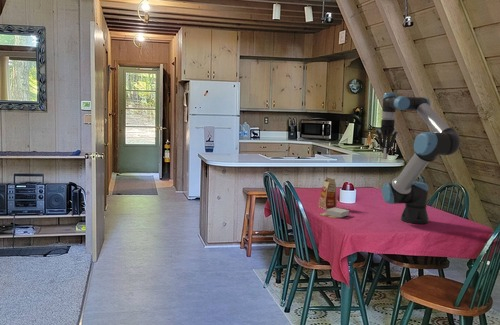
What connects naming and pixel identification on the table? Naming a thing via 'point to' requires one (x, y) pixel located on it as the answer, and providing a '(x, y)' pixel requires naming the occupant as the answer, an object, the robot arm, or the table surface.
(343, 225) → the table surface
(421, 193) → the robot arm
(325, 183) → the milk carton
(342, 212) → the tile
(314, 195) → the table surface
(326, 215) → the cork mat
